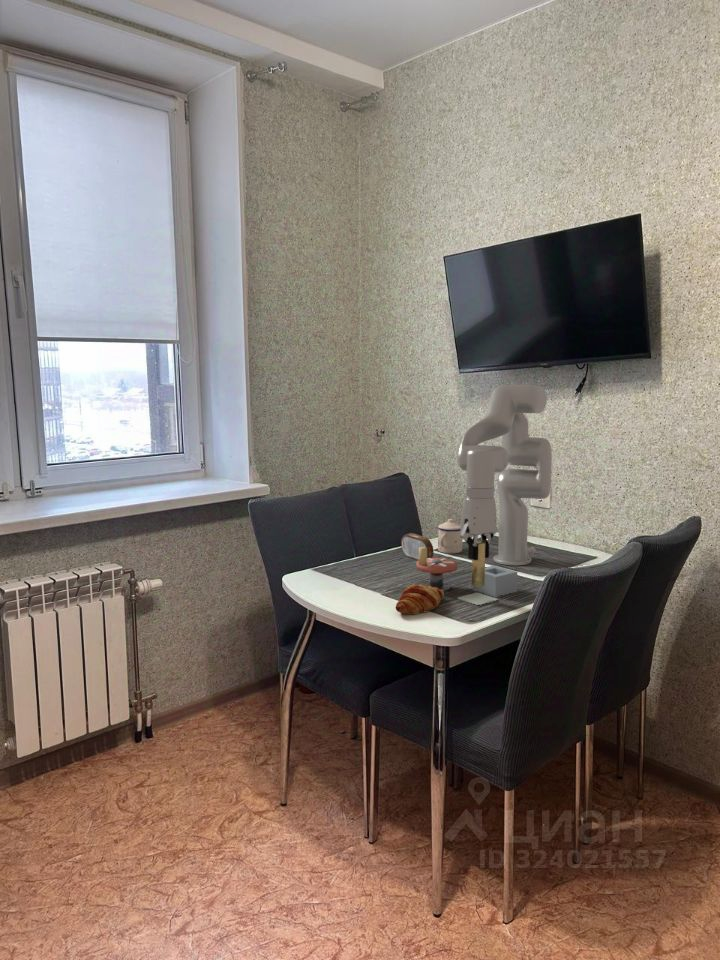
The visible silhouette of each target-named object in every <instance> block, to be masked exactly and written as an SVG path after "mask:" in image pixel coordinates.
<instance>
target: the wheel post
mask: <svg viewBox="0 0 720 960" xmlns="http://www.w3.org/2000/svg"><path fill="white" fill-rule="evenodd" d="M423 585H429V586H431V587H433V588H434V587H437V588H438V589H440V590H443V592H444V593H446V592H449V591H451V585H450V584H448V583H446V582H444V573H429V581H428V582H426V583H423Z"/></svg>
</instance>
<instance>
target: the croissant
mask: <svg viewBox="0 0 720 960" xmlns="http://www.w3.org/2000/svg"><path fill="white" fill-rule="evenodd" d="M444 594H445V592H443V590H440V589H438V588H437V587H434V588H433V587H431V586H429V585H424V584H413V585H409V586H407V587H406V588H405V589H404V590H403V591H402V592H401V595H400V597H399V599H398V601H397V602H396V604H395V610H396V612H398V613H400V614H408V615H417V614H421V613H427V612H429V611H431V610H434V609H436V608H437V607H438V606H439V605H440V603H441V602H442V599H443V598H444V596H445V595H444Z"/></svg>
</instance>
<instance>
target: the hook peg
mask: <svg viewBox="0 0 720 960" xmlns="http://www.w3.org/2000/svg"><path fill="white" fill-rule="evenodd" d="M476 546H478V560H472V559H471V586H472V587H473V586H484V585H485V567H486V558H485V546H486V543H485V542H481V540H480V541H478V540H477V545H476Z"/></svg>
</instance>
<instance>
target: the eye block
mask: <svg viewBox="0 0 720 960" xmlns="http://www.w3.org/2000/svg"><path fill="white" fill-rule="evenodd" d="M517 589H518V571H516V570H511V569H508V568H504V567H501V566H497V565H490V566H485V585H484V586H473V585H472V591H474V592H477V591H478V592H477V593H480V592H481V594H483V593H484V595H486V594H488V595H487V596H489V595H491V596H490V597H492V596H494V597H493V598H497V597H496V596H499V597H501V596H500V595H503V596H505V595H504V594H507V595H509V593H511V594H514V593H517V592H518V590H517ZM513 592H514V593H513Z"/></svg>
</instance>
